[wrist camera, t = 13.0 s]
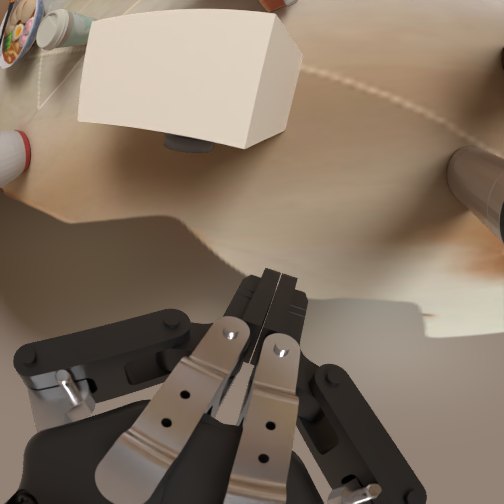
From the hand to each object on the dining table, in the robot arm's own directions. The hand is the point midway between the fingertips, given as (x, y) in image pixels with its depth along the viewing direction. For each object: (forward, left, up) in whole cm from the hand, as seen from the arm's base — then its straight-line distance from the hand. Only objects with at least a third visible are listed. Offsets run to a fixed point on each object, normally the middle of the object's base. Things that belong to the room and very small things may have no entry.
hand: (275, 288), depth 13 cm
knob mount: (+18, -3, -32) cm, 37 cm away
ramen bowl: (+79, +2, -32) cm, 85 cm away
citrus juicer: (+68, +37, -32) cm, 84 cm away
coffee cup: (+52, -1, -32) cm, 61 cm away
